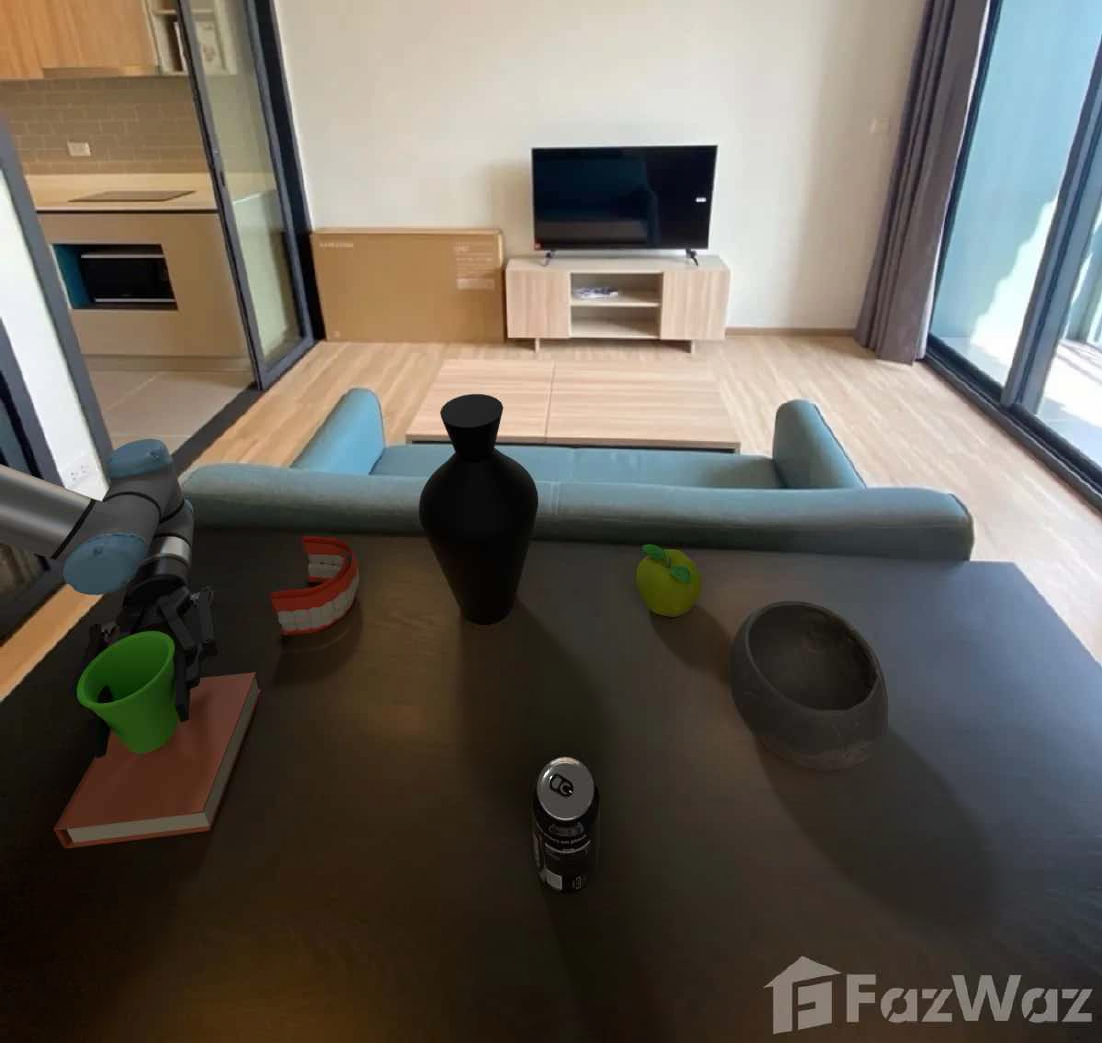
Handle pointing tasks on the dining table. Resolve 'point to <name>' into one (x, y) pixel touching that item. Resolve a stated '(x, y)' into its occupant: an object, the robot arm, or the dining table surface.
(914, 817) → the dining table surface
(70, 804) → the book
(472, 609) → the vase
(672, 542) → the dining table surface
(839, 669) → the bowl
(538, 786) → the beverage can
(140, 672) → the cup
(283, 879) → the dining table surface
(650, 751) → the dining table surface
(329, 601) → the toy
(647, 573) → the fruit
